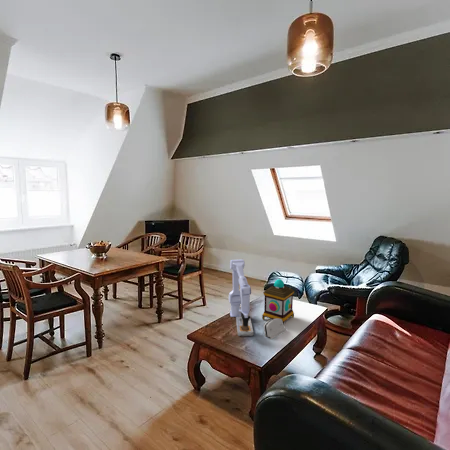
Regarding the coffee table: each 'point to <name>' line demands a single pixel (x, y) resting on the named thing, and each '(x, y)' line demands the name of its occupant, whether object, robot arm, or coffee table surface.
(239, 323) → the peg-in-hole board
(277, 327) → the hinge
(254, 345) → the coffee table surface
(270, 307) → the decorative lantern
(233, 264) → the robot arm
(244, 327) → the walnut peg
